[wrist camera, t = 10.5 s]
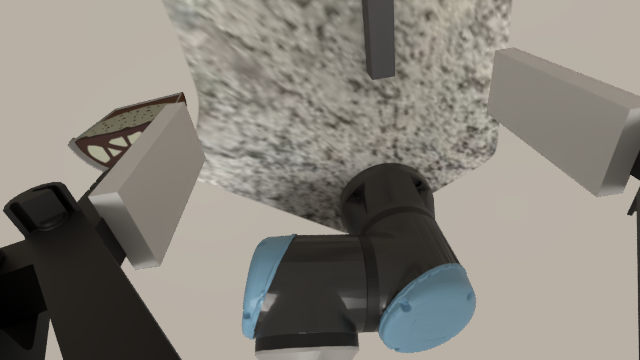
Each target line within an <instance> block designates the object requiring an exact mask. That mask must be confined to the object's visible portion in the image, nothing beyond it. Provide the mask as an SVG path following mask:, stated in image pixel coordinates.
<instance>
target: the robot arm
mask: <svg viewBox="0 0 640 360" xmlns="http://www.w3.org/2000/svg"><path fill="white" fill-rule="evenodd" d="M487 113H488V114H489V115H490V116H492V117H493V118H494V119H496V120H497V121H498V122H500V123H501V124H502V125H503V126H505V127H506V128H508V129H509V130H510V131H511V132H513V133H514V134H515V135H516V136H518V137H519V138H520V139H522V140H523V141H524V142H526V143H527V144H528V145H530V146H531V147H532V148H533V149H535V150H536V151H537V152H539V153H540V154H541V155H542V156H544V157H545V158H546V159H548V160H549V161H550V162H552V163H553V164H554V165H555V166H557V167H558V168H559V169H561V170H562V171H563V172H565V173H566V174H567V175H568V176H570V177H571V178H572V179H574V180H575V181H576V182H578V183H579V184H580V185H581V186H583V187H584V188H585V189H587V190H588V191H589V192H591V193H592V194H593V195H595V196H596V197H601V196H606V195H613V194H619V193H623V191H624V188H625V186H626V184H627V182H628V179H629V177H630V175H632V176H634V177H635V178H637V179H638V180H640V96H638V95H635V94H633V93H630V92H628V91H625V90H622V89H620V88H617V87H614V86H612V85H609V84H607V83H604V82H601V81H599V80H596V79H594V78H591V77H589V76H586V75H583V74H581V73H578V72H576V71H573V70H571V69H568V68H565V67H563V66H560V65H557V64H555V63H552V62H550V61H547V60H545V59H542V58H540V57H537V56H534V55H532V54H529V53H527V52H524V51H521V50H519V49H516V48H508V49H502V50H496V51H495V57H494V65H493V72H492V79H491V86H490V94H489V101H488V108H487ZM205 159H206V158H205V155H204V152H203V150H202V147H201V144H200V142H199V139H198V136H197V134H196V131H195V128H194V126H193V123H192V120H191V118H190V115H189V113H188V110H187V107H186V105H185V102H180V103H173V104H167V105H166V106H165V107H164V108H163V109H162V111H161V112H160V113H159V114H158V115H157V116H156V118H155V119H154V120H153V121H152V122H151V123H150V125H149V126H148V127H147V128H146V129H145V130H144V132H143V133H142V134H141V135H140V136H139V138H138V139H137V140H136V141H135V142H134V143H133V145H132V146H131V147H130V148H129V149H128V150H127V152H126V153H125V154H124V155H123V156H122V157H121V159H120V160H119V161H118V162H117V163H116V164H115V165H113V166H112V167H110V168H109V169H107V170H106V171H104V172H103V173H102V175H101V176H100V177H99V178H98V179H97V180H96V182H95V183H94V184H93V185H92V186H91V187H90V190H88V191H87V192H86V193H85V194H84V195H83V196H82V197H81V198H80V200H79V201H78V202H76V200H75V199H74V197H73V196H72V195H71V193H70V192H69V190H68V189H67V187H66V186H65V184H63V183H61V182H52V183H47V184H42V185H40V186H37V187H34V188H31V189H29V190H27V191H25V192H23V193H21V194H19V195H18V196H16V197H14V198H13V199H12V200H10V201H9V202H8V203H7V204H6V205H5V207H4V210H3V212H4V213H5V214H6V215H7V216H8V218H9V219H10V220H11V221H12V222H13V223H14V225H15V226H16V227H17V228H18V229H19V231H20V232H21V233H22V234H23V235H24V237H25V240H23V241H20V242H17V243H14V244H11V245H8V246H5V247H2V248H0V360H45V353H46V345H47V337H48V329H49V321H50V319H51V322H52V325H53V328H54V332H55V335H56V338H57V341H58V344H59V347H60V351H61V354H62V357H63V360H181V358H180V357H179V355H178V353H177V352H176V351H175V349H174V347H173V346H172V344H171V343H170V341H169V340H168V339H167V337H166V335H165V334H164V332H163V331H162V329H161V328H160V326H159V325H158V323H157V322H156V320H155V319H154V317H153V316H152V314H151V313H150V311H149V309H148V308H147V306H146V305H145V304H144V302H143V300H142V299H141V297H140V296H139V294H138V293H137V292H136V290H135V288H134V287H133V285H132V284H131V282H130V281H129V279H128V278H127V276H126V275H125V273H124V272H123V270H122V269H121V267H120V266H121V265H122V263H123V261H124V259H125V257H127V258H128V260H129V261H130V263H131V264H132V266H133V268H134V269H135V270H139V269H145V268H152V267H158V266H160V265H161V262H162V261H163V258H164V256H165V253H166V251H167V249H168V246H169V244H170V242H171V239H172V237H173V234H174V232H175V230H176V227H177V225H178V223H179V220H180V218H181V215H182V213H183V211H184V209H185V206H186V204H187V201H188V199H189V196H190V194H191V192H192V189H193V187H194V185H195V182H196V180H197V178H198V175H199V173H200V171H201V168H202V166H203V164H204V161H205ZM339 208H340V214H341V219H342V223H343V225H344V227H345V229H346V230H347V232H348V233H349V234H346V235H297V234H292V235H291V236H279V237H268V238H266V239H264V240H262V241H261V242H260V243H259V244H258V246H257V248H256V250H255V252H254V254H253V257H252V260H251V264H250V268H249V272H248V278H247V282H246V288H245V295H244V303H243V309H244V311H243V319H242V331H243V334H244V335H245V336H246V337H248V338H250V339H254V338H255V337H256V345H255V356H256V357H257V358H258V359H259V360H352V359H353V358H354V356H355V355H356V353H357V352H358V351H359V344H358V333H360V332H378V333H379V336H380V338H381V340H383V342H384V344H385V345H386V346H387V347H388V348H390V349H394V350H395V351H397V352H402V353H414V352H420V351H424V350H428V349H431V348H434V347H436V346H438V345H441V344H443V343H445V342H446V341H448V340H450V339H451V338H452V337H454V336H455V335H457V334H458V333H459V332H460V331H461V330H462V329H463V328H464V327H465V326H466V325H467V324H468V322H469V321H470V319H471V318H472V316H473V313H474V311H475V306H476V297H475V293H474V291H473V288H472V286H471V284H470V282H469V279H468V277H467V275H466V274H467V273H466V271H465V269H464V268H463V267H462V265H461V264H460V263H459V261H458V259H457V258H456V256H455V255H454V252H453V251H452V249H451V247H450V245H449V244H448V242H447V240H446V238H445V237H444V235H443V233H442V231H441V230H440V228H439V226H438V225H437V223H436V221H435V214H434V213H435V212H434V198H433V194H432V191H431V189H430V187H429V185H428V183H427V182H426V180H425V179H424V177H423V176H422V175H421V174H420V173H419V172H418V171H416V170H414V169H413V168H411V167H408V166H405V165H401V164H382V165H378V166H374V167H371V168H369V169H367V170H365V171H363V172H361V173H360V174H358V175H357V176H355V177H354V178H353V179H352V180H351V181H350V182H349V183H348V185H347V186H346V187H345V189H344V191H343V193H342V195H341V198H340V204H339ZM635 211H637V256H638V257H637V258H638V319H639V320H638V321H639V322H638V323H639V360H640V187H639V190H638V192H637V194H636V196H635V199H634V200H633V203H632V205H631V207H630V209H629V211H628V213H627V215H633V213H634V212H635Z"/></svg>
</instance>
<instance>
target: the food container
mask: <svg viewBox="0 0 640 360" xmlns="http://www.w3.org/2000/svg"><path fill="white" fill-rule="evenodd" d="M180 102H185V105H186V106H187V104H186V99H185V96H184V94H183V92H181V93H177V94H173V95H169V96H165V97H161V98H157V99H153V100H149V101H145V102H141V103H137V104H133V105H129V106H125V107H121V108H117V109H115V110H113V111H112V112H111V113H109V114H108V115H107V116H105V117H104V118H103V119H101V120H100V121H99V122H97V123H96V124H95V125H93V126H92V127H91V128H89V129H88V130H87V131H85V132H84V133H83V134H81V135H80V136H79V137H77V138H76V139H75V138H72V140H71V141H70V142H69V144H68V146H69V148H70V149H71V150H72V151H73V152H74V153H75V154H76V155H77V156H78V157H79V158H81V159H82V160H83V161H84V162H86V163H87V164H89V165H90V166H92V167H94V168H96V169H98V170H100V171H102V172H104V171H106V170H107V169H109V168H110V167H112V166H113V165H115V164H116V163H117V162H118V161H119V160H120V159H121V157H122V156H123V155H124V154H125V153H126V152H127V150H128V149H129V148H130V147H131V146H132V145H133V143H134V142H135V141H136V140H137V139H138V138H139V136H140V135H141V134H142V133H143V132H144V130H145V129H146V128H147V127H148V126H149V125H150V123H151V122H152V121H153V120H154V119H155V118H156V116H157V115H158V114H159V113H160V112H161V111H162V109H163V108H164V107H165V106H166V105H167V104H173V103H180Z"/></svg>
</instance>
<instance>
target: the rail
mask: <svg viewBox="0 0 640 360" xmlns="http://www.w3.org/2000/svg"><path fill="white" fill-rule="evenodd" d="M362 5H363V20H364V35H365V49H366V64H367V73H368V74H369V76H370V77H371V78H372V80H375V79H381V78H387V77H393V76H395V51H394V6H393V0H362Z"/></svg>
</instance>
